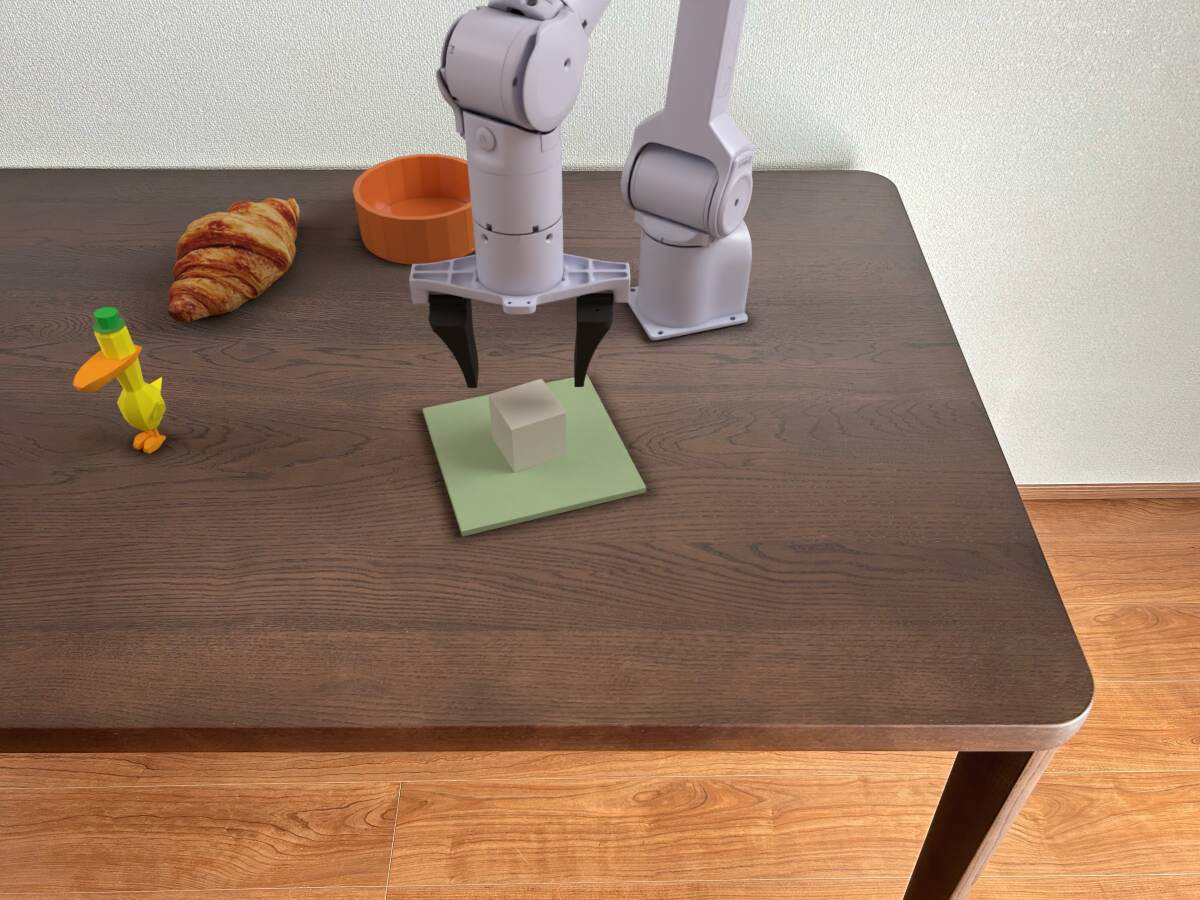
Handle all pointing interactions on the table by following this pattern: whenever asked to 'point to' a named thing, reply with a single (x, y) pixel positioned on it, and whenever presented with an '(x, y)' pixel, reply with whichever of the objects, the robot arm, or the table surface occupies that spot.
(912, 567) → the table surface
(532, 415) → the block
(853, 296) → the table surface
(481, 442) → the mat
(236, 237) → the croissant
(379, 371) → the table surface
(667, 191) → the robot arm
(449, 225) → the bowl
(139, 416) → the toy figure
